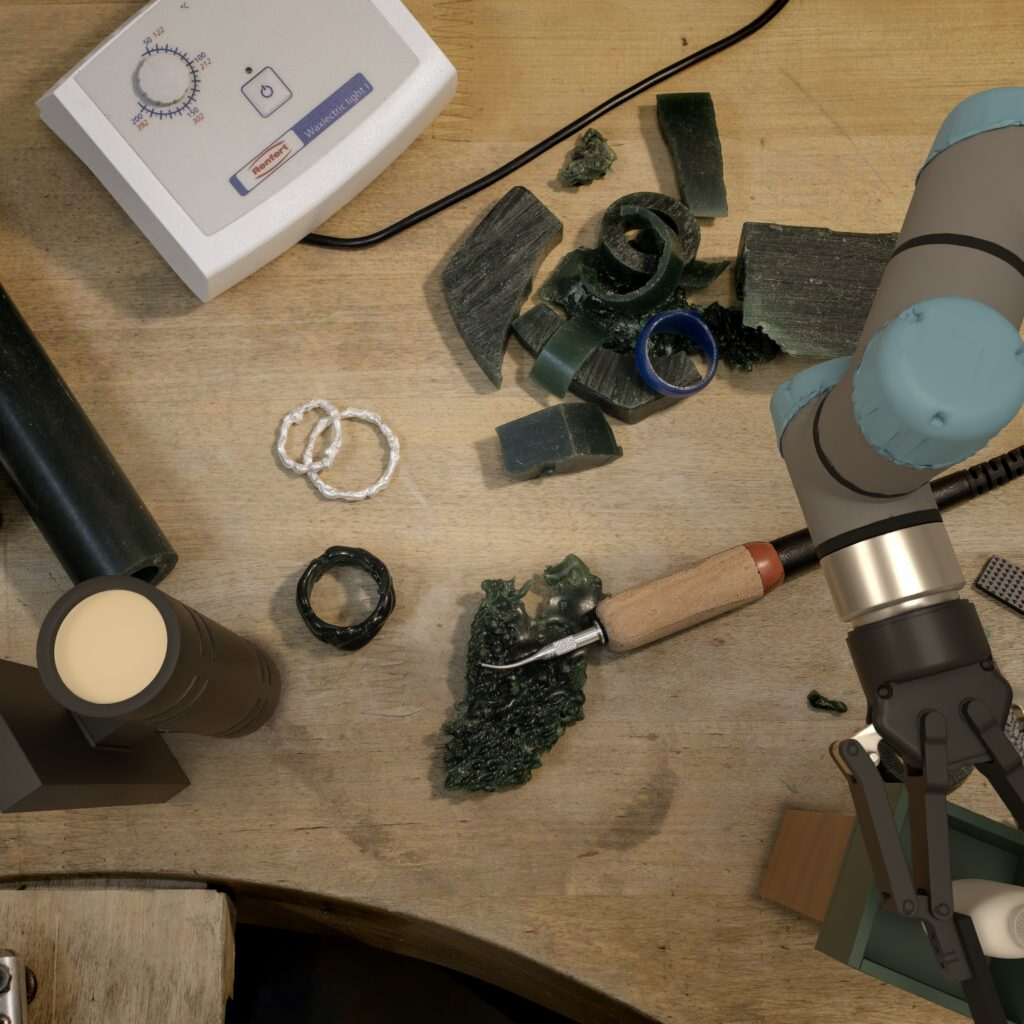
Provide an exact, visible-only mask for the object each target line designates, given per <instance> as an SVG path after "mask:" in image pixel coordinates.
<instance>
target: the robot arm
mask: <svg viewBox="0 0 1024 1024" xmlns="http://www.w3.org/2000/svg"><path fill="white" fill-rule="evenodd" d="M914 187H915V188H914V191H913V193H912V197H911V200H910V202H909V206H908V207H907V211H906V213H905V217H904V220H903V223H902V225H901V229H900V231H899V233H898V237H897V239H896V243H895V245H894V248H893V251H892V254H891V256H890V258H889V261H888V263H887V265H886V267H885V270H884V273H883V274H882V275H883V276H882V278H881V281H880V283H879V287H878V289H877V291H876V294H875V297H874V300H873V302H872V305H871V308H870V310H869V313H868V315H867V318H866V321H865V324H864V327H863V329H862V331H861V335H860V338H859V340H858V342H857V343H858V344H857V346H856V348H855V351H854V354H852V355H846V356H845V355H844V356H840V357H836V358H833V359H829V360H826V361H822V362H820V363H817V364H815V365H812V366H810V367H807V368H805V369H803V370H801V371H799V372H797V373H796V374H794V376H793V377H792V378H791V379H788V380H785V381H784V382H782V383H780V384H779V386H778V387H777V388H776V389H775V390H774V392H773V393H772V395H771V396H770V397H771V398H770V400H769V411H770V416H771V419H772V423H773V427H774V432H775V435H776V436H775V437H776V445H777V450H778V452H779V454H780V457H781V458H782V460H783V461H784V463H785V466H786V469H787V472H788V475H789V478H790V481H791V483H792V487H793V490H794V492H795V495H796V497H797V500H798V503H799V506H800V509H801V512H802V514H803V518H804V520H805V524H806V527H807V529H808V532H809V534H810V538H811V540H812V543H813V547H814V549H815V550H816V551H815V553H816V554H817V558H818V561H819V564H820V567H821V570H822V574H823V576H824V579H825V582H826V585H827V588H828V591H829V594H830V597H831V599H832V602H833V605H834V608H835V611H836V614H837V618H838V620H839V621H840V622H843V623H851V626H852V630H850V631H848V632H847V633H846V635H847V637H845V639H844V640H845V642H846V646H847V649H848V651H849V655H850V657H851V659H852V663H853V666H854V669H855V672H856V674H857V678H858V681H859V683H860V686H861V689H862V692H863V694H864V696H865V699H866V713H865V714H866V715H865V725H863V726H862V727H860V728H859V729H857V730H856V731H855V732H852V734H851V735H849V736H847V737H846V738H844V739H838V740H834V741H832V742H830V744H829V747H828V754H829V756H830V758H831V760H832V761H833V762H834V763H835V765H836V768H838V770H839V771H840V772H841V774H842V776H843V777H844V779H845V780H846V781H847V786H848V789H849V792H850V796H851V799H852V803H853V806H854V809H855V813H856V815H857V817H858V821H859V824H860V828H861V832H862V835H863V839H864V842H865V846H866V849H867V853H868V857H869V860H870V864H871V867H872V871H873V874H874V878H875V882H876V885H877V889H878V892H879V896H880V899H881V903H882V905H883V907H884V909H886V910H887V911H889V912H891V913H894V914H897V915H900V916H903V917H906V918H919V919H920V920H921V921H922V922H923V923H924V926H925V928H926V931H927V934H928V937H929V940H930V943H931V946H932V949H933V951H934V955H935V958H936V961H937V964H938V967H939V970H940V971H941V973H942V974H943V975H944V976H945V978H947V979H949V980H951V981H954V982H956V983H958V982H961V985H962V988H963V991H964V994H965V997H966V1000H967V1003H968V1006H969V1009H970V1012H971V1015H972V1018H973V1020H972V1021H973V1023H974V1024H1008V1022H1007V1020H1006V1017H1005V1014H1004V1011H1003V1008H1002V1005H1001V1002H1000V999H999V996H998V993H997V991H996V988H995V985H994V982H993V979H992V976H991V973H990V970H989V967H988V964H987V962H986V959H985V956H984V953H983V950H982V947H981V944H980V941H979V938H978V935H977V933H976V930H975V927H974V924H973V921H972V918H971V916H968V915H965V914H961V913H958V912H954V904H953V889H952V874H951V860H950V845H949V831H948V816H947V802H946V801H947V792H948V790H949V787H950V778H949V773H951V772H955V771H956V770H958V769H959V768H961V767H963V766H964V765H973V767H974V768H975V769H976V771H978V772H979V774H982V776H984V777H985V778H986V780H987V781H988V782H989V784H990V785H991V787H992V788H993V789H994V791H995V792H996V794H997V795H998V797H999V798H1000V801H1002V803H1003V804H1004V805H1005V807H1006V808H1007V810H1008V811H1009V813H1010V814H1011V816H1012V817H1013V819H1014V820H1015V821H1016V823H1017V824H1018V826H1019V827H1020V829H1021V831H1022V832H1024V765H1023V758H1022V757H1021V755H1020V753H1019V752H1018V751H1017V749H1016V748H1015V746H1014V745H1013V743H1012V742H1011V741H1010V739H1009V738H1008V736H1007V735H1006V733H1005V730H1006V727H1007V723H1008V719H1009V715H1010V711H1011V709H1012V710H1013V711H1014V716H1015V718H1016V719H1017V720H1018V721H1019V722H1020V723H1022V724H1024V686H1017V685H1016V686H1014V685H1011V684H1010V682H1009V681H1008V680H1007V678H1006V677H1004V676H1003V675H1002V674H1001V672H999V670H998V669H997V667H996V665H995V663H994V659H993V654H992V653H993V652H992V648H991V645H990V643H989V640H988V638H987V635H986V632H985V630H984V627H983V624H982V621H981V619H980V616H979V613H978V611H977V608H976V605H975V603H974V601H973V602H970V599H969V598H961V595H960V592H959V591H962V590H963V589H964V588H965V587H966V585H967V581H966V578H965V575H964V573H963V571H962V568H961V565H960V562H959V559H958V557H957V555H956V552H955V549H954V546H953V543H952V541H951V539H950V535H949V533H948V531H947V528H946V526H945V523H944V519H943V517H942V514H941V512H940V511H939V507H938V505H937V501H936V499H935V495H934V493H933V490H932V487H931V484H930V481H931V480H933V479H934V478H935V477H937V476H939V475H941V474H942V473H944V472H945V471H947V470H949V469H950V468H952V467H953V466H955V465H957V464H960V463H964V462H965V461H966V460H968V459H969V458H973V457H974V456H976V455H977V453H978V452H979V451H982V450H983V449H985V448H986V447H987V446H988V444H989V442H990V441H991V440H992V439H993V438H996V437H998V435H999V434H1000V433H1001V431H1002V430H1003V429H1004V428H1005V427H1007V425H1009V424H1010V423H1011V422H1012V421H1013V420H1014V419H1015V417H1016V416H1017V415H1018V414H1019V411H1020V410H1021V409H1022V407H1023V405H1024V340H1023V338H1022V336H1021V334H1020V331H1021V328H1022V324H1023V321H1024V86H1014V85H1013V86H1002V87H993V88H988V89H985V90H982V91H978V92H976V93H974V94H972V95H969V96H968V97H966V98H965V99H963V100H962V101H961V102H959V103H957V104H956V105H955V106H954V107H953V108H952V109H951V110H950V112H949V113H948V114H947V115H946V117H945V118H944V119H943V122H942V123H941V125H940V127H939V129H938V130H937V133H936V135H935V138H934V140H933V143H932V145H931V147H930V149H929V152H928V154H927V156H926V159H925V161H924V163H923V166H921V167H920V168H919V169H918V171H917V173H916V176H915V182H914ZM879 743H881V744H882V745H883V746H885V747H886V748H887V749H889V750H890V751H891V752H892V753H894V754H895V755H896V756H897V757H899V759H901V760H902V767H903V769H902V770H903V771H902V772H903V783H904V784H905V788H906V789H907V791H908V800H909V816H910V833H911V850H912V866H913V883H914V886H913V883H912V879H911V876H910V872H909V869H908V865H907V862H906V858H905V855H904V851H903V848H902V845H901V841H900V838H899V834H898V831H897V827H896V824H895V820H894V817H893V813H892V810H891V806H890V803H889V799H888V796H887V792H886V789H885V786H884V783H885V782H884V780H883V777H882V775H881V773H880V771H879V769H878V766H879V764H880V761H881V755H880V752H879V748H878V746H879Z"/></svg>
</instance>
